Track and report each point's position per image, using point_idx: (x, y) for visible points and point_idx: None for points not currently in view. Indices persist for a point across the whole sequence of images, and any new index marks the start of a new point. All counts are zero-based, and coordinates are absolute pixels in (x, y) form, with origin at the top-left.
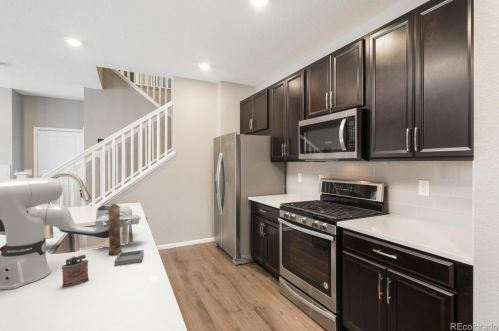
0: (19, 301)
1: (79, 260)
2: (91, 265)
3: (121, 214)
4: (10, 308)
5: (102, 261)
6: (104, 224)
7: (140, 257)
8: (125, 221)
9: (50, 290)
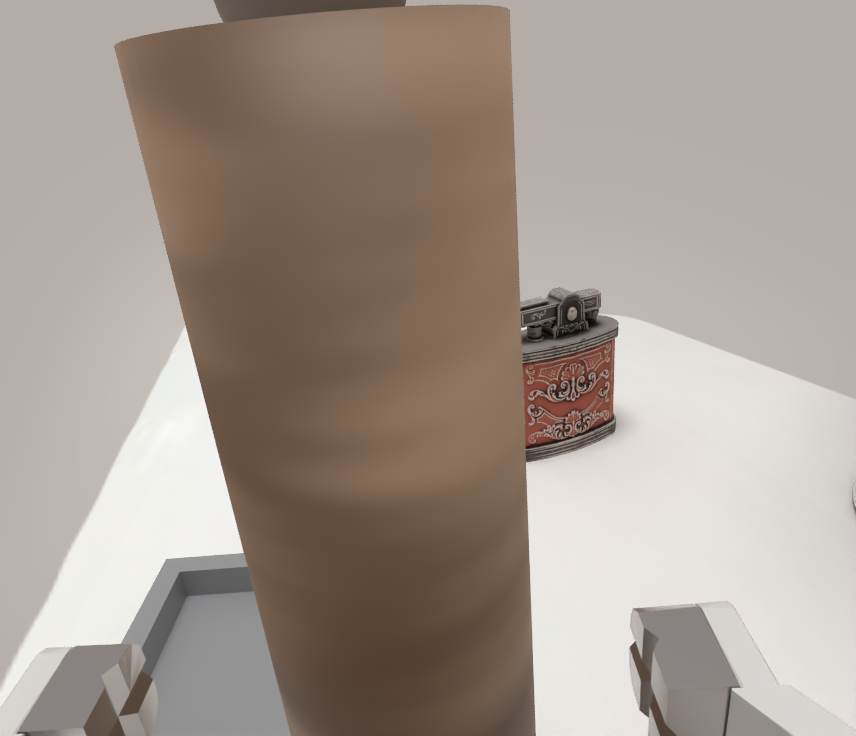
0: (718, 372)
1: (538, 324)
2: (607, 629)
3: None
4: (705, 352)
5: (537, 698)
6: (676, 606)
7: (167, 571)
8: (67, 716)
9: (650, 409)
